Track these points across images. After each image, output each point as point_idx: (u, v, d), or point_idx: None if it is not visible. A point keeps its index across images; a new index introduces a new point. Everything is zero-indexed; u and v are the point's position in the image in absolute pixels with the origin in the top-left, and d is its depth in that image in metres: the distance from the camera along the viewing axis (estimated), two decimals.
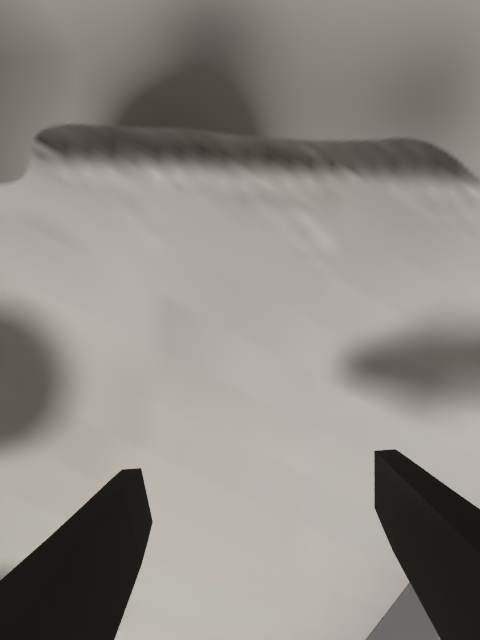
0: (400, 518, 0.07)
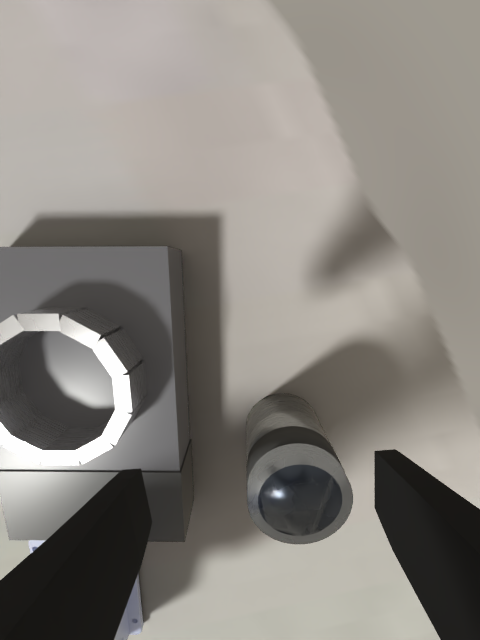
0: (400, 518, 0.07)
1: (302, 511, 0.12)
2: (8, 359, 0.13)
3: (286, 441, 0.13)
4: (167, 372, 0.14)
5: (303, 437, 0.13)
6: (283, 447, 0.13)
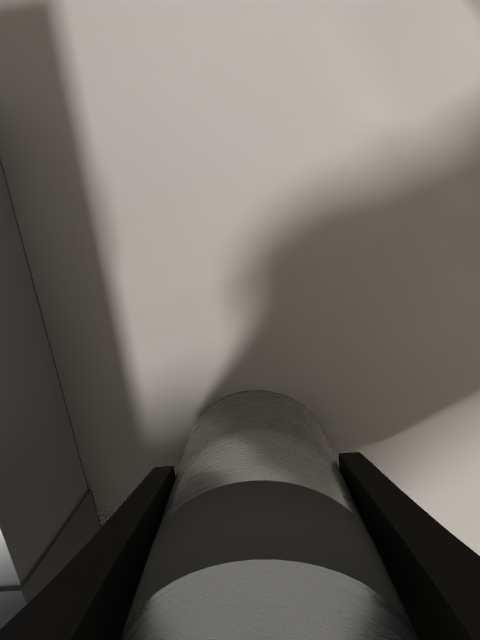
0: None
1: None
2: None
3: (220, 545, 0.04)
4: None
5: (274, 527, 0.04)
6: (202, 584, 0.04)
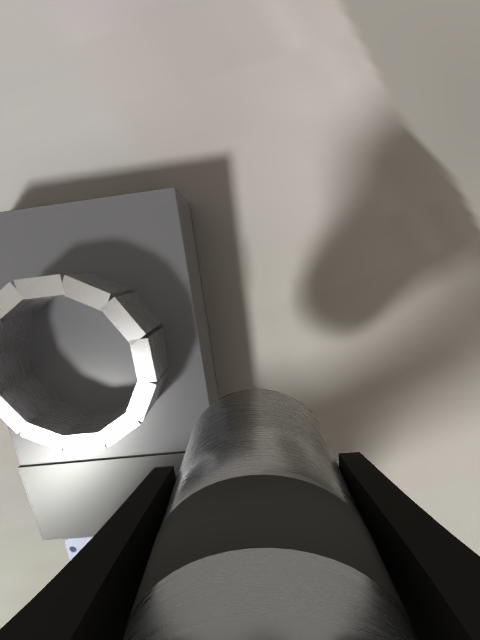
0: None
1: None
2: (13, 339, 0.12)
3: (218, 536, 0.04)
4: (190, 337, 0.13)
5: (270, 518, 0.04)
6: (200, 571, 0.04)
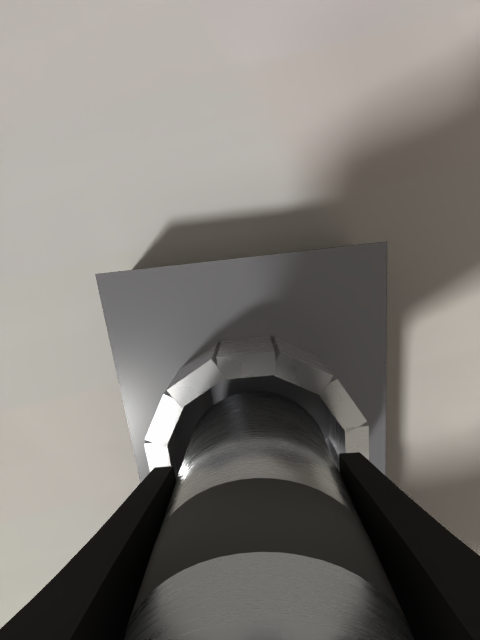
0: None
1: None
2: (180, 413, 0.10)
3: (209, 542, 0.04)
4: (376, 409, 0.11)
5: (259, 522, 0.04)
6: (191, 580, 0.04)
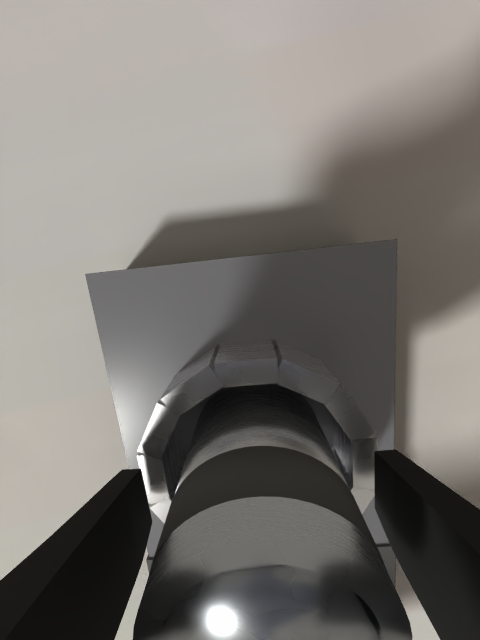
0: (400, 518, 0.07)
1: None
2: None
3: (219, 493, 0.05)
4: (384, 417, 0.10)
5: (261, 476, 0.05)
6: (206, 517, 0.05)
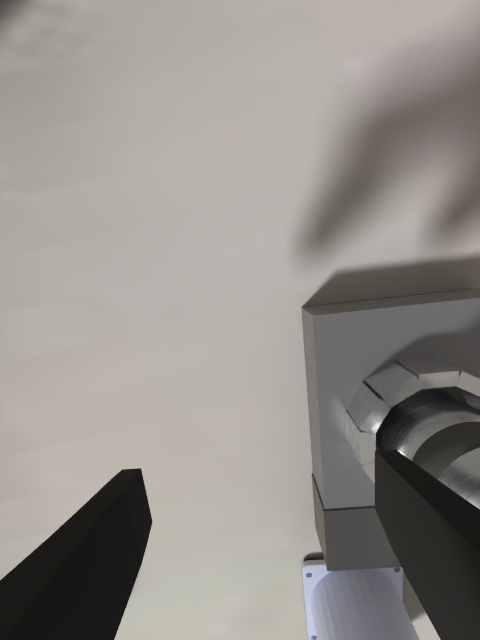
0: (400, 518, 0.07)
1: None
2: None
3: (472, 443, 0.10)
4: None
5: None
6: (477, 453, 0.10)
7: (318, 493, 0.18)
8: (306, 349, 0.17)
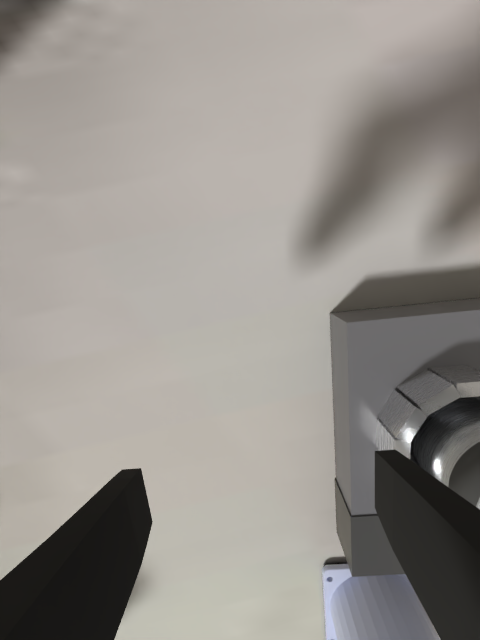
0: (400, 518, 0.07)
1: None
2: None
3: None
4: None
5: None
6: None
7: (343, 499, 0.18)
8: (334, 355, 0.17)
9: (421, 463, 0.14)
